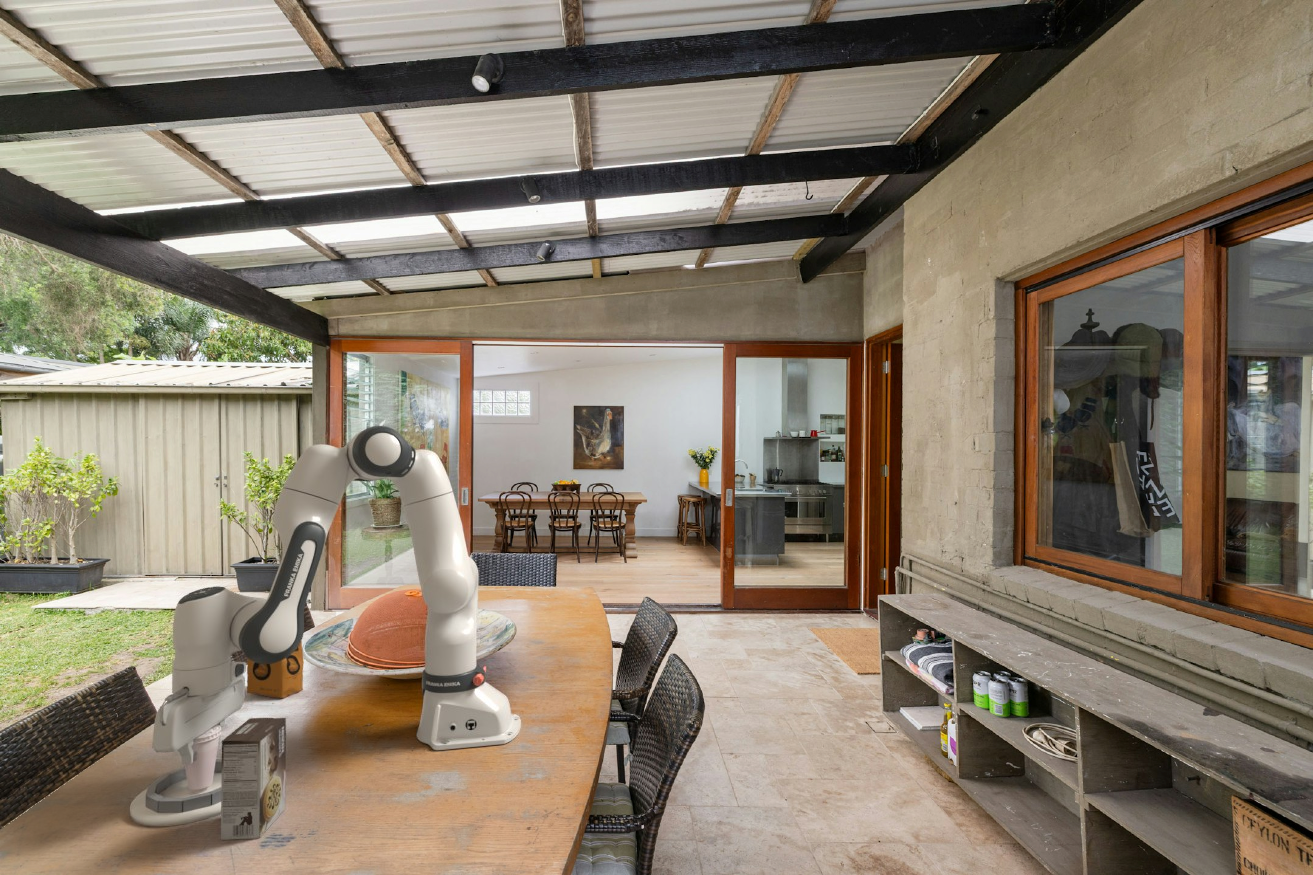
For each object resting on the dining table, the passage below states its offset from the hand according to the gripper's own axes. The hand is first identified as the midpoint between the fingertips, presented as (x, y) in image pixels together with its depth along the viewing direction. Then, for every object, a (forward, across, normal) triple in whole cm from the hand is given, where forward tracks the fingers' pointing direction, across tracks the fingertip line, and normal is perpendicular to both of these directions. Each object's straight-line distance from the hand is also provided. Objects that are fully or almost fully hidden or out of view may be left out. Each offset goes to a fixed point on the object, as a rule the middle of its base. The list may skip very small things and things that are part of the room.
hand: (201, 754), depth 120 cm
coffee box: (+8, -10, -15) cm, 20 cm away
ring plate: (+7, 0, 0) cm, 7 cm away
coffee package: (+8, +51, +14) cm, 53 cm away
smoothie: (+6, 0, 0) cm, 6 cm away
